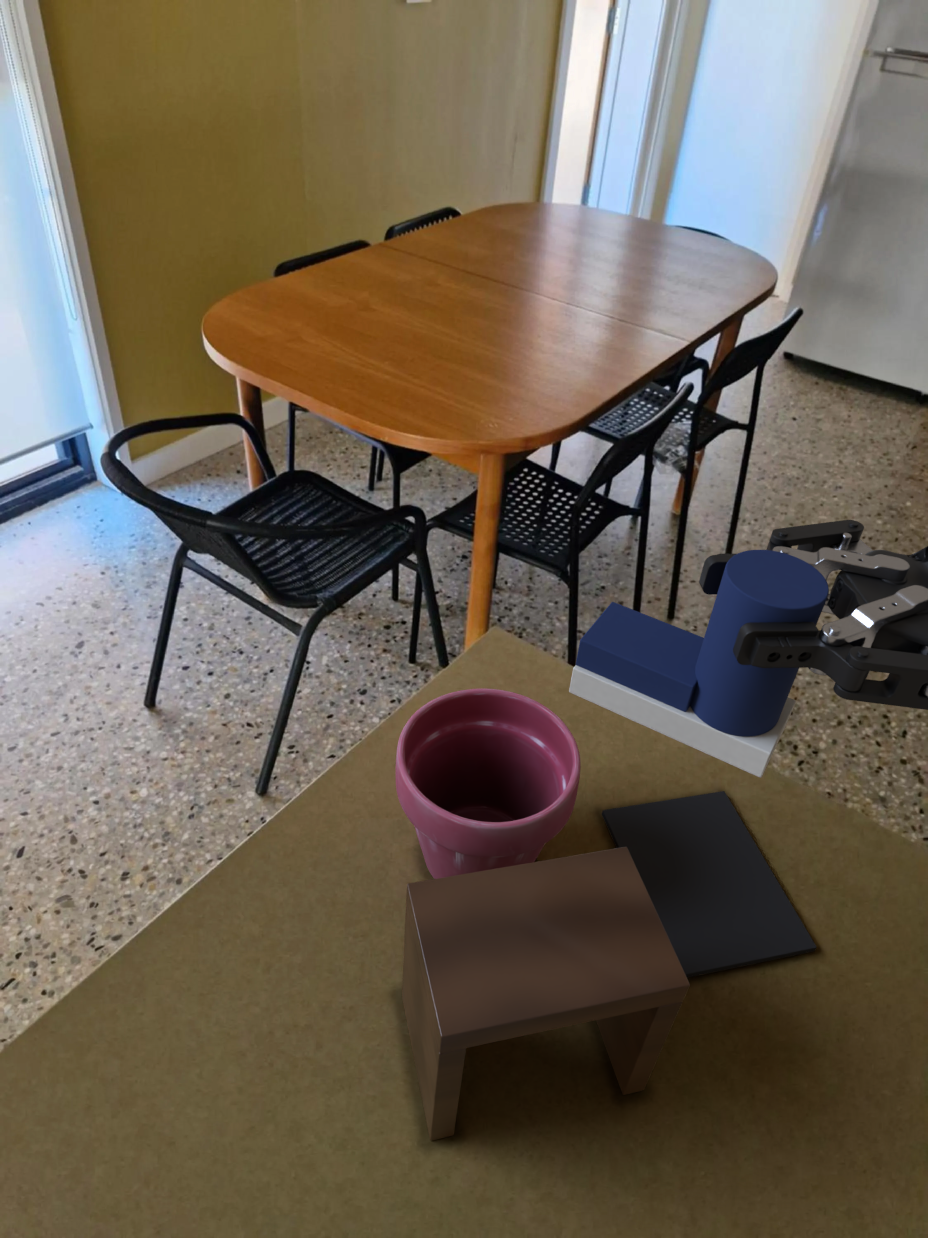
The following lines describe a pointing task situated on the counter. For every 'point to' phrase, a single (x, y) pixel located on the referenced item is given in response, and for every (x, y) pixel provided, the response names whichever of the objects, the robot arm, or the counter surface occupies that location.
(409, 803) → the flower pot
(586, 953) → the shoe bench
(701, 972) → the shoe mat
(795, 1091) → the counter surface
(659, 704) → the boot
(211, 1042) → the counter surface
